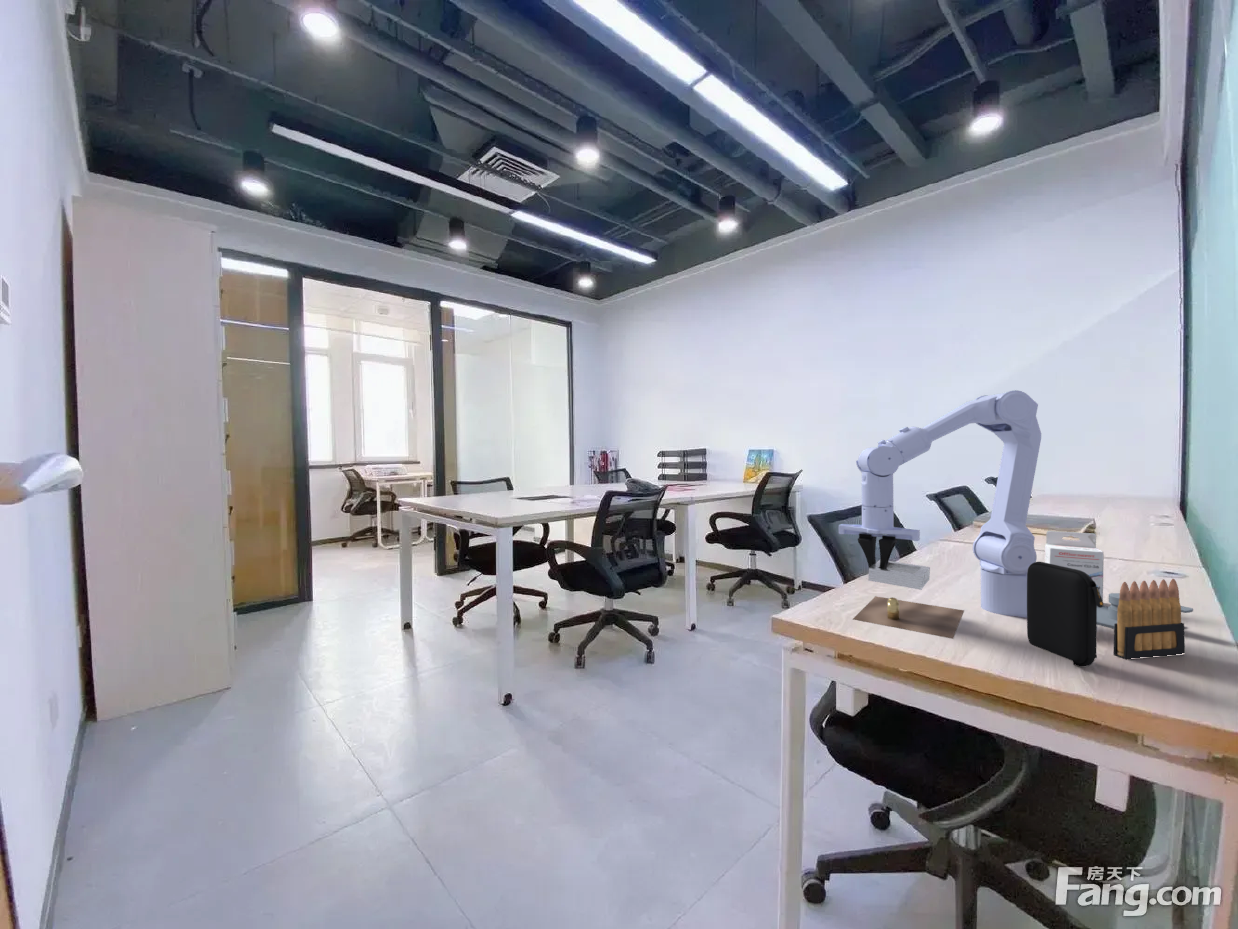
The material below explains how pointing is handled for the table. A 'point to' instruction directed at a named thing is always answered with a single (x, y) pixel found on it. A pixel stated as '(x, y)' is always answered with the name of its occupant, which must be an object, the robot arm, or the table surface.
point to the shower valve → (1109, 614)
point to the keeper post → (893, 609)
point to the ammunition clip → (1149, 621)
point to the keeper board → (913, 617)
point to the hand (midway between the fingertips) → (877, 572)
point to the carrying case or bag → (1062, 611)
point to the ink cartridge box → (1076, 554)
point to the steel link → (900, 574)
